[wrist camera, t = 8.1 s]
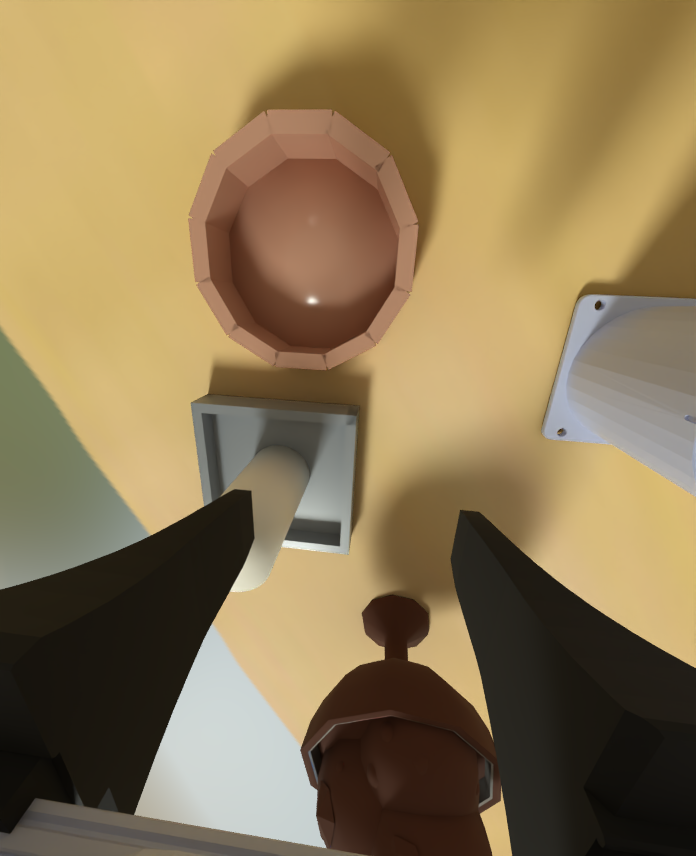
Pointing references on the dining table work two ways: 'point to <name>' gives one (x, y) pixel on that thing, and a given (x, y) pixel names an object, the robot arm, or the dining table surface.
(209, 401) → the tray
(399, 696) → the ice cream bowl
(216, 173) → the terracotta bowl
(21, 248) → the dining table surface
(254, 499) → the peg
